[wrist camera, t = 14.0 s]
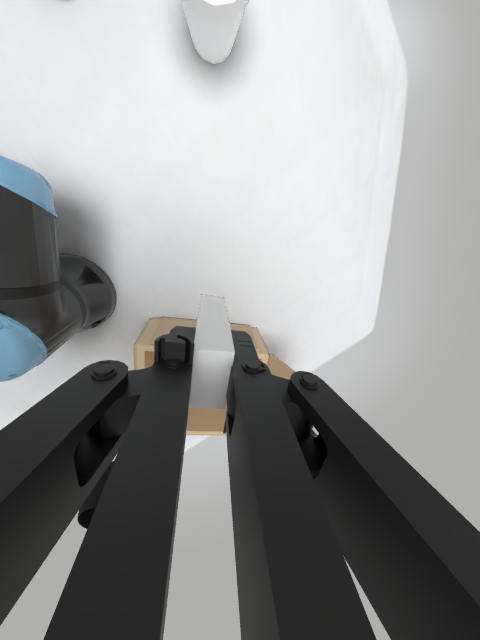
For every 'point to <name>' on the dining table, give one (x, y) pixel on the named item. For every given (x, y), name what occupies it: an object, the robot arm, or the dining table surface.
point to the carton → (198, 418)
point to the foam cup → (214, 26)
